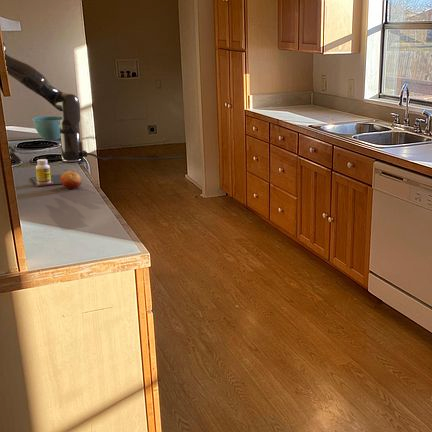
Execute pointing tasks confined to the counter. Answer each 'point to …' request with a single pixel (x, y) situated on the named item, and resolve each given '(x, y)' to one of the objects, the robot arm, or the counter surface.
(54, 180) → the corner mat
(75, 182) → the fruit
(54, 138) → the plant pot
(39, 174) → the supplement bottle
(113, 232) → the counter surface
